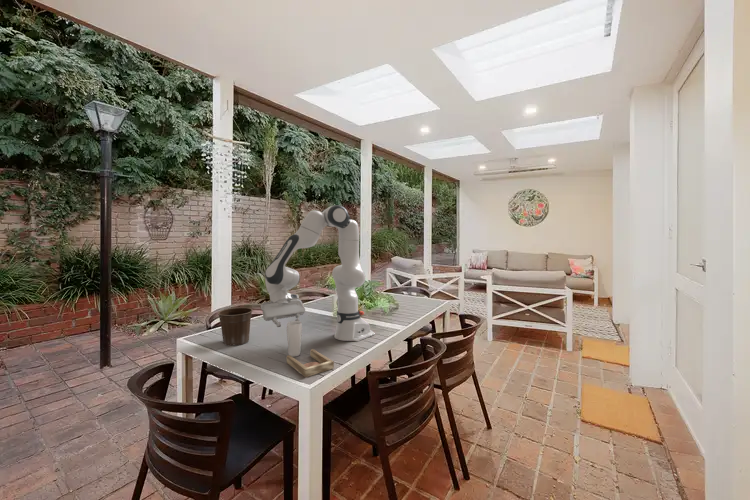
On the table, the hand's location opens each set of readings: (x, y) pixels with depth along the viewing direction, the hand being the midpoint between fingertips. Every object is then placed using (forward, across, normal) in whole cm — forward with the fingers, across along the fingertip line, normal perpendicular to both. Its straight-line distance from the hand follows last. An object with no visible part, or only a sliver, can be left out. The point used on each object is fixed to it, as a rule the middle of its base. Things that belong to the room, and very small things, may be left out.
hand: (288, 324), depth 149 cm
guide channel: (+24, 0, -5) cm, 24 cm away
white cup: (+13, 0, +5) cm, 14 cm away
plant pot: (-11, -16, +29) cm, 35 cm away
